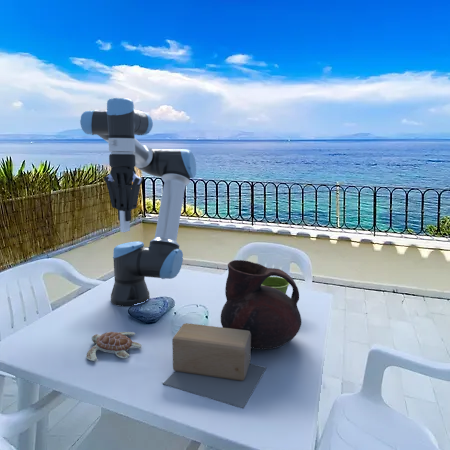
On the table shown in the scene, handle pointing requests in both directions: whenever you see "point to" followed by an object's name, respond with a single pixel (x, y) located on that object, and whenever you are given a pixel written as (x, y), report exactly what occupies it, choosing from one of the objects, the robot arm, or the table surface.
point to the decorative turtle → (112, 344)
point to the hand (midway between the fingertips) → (125, 231)
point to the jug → (260, 305)
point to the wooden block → (212, 351)
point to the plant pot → (276, 283)
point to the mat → (218, 385)
